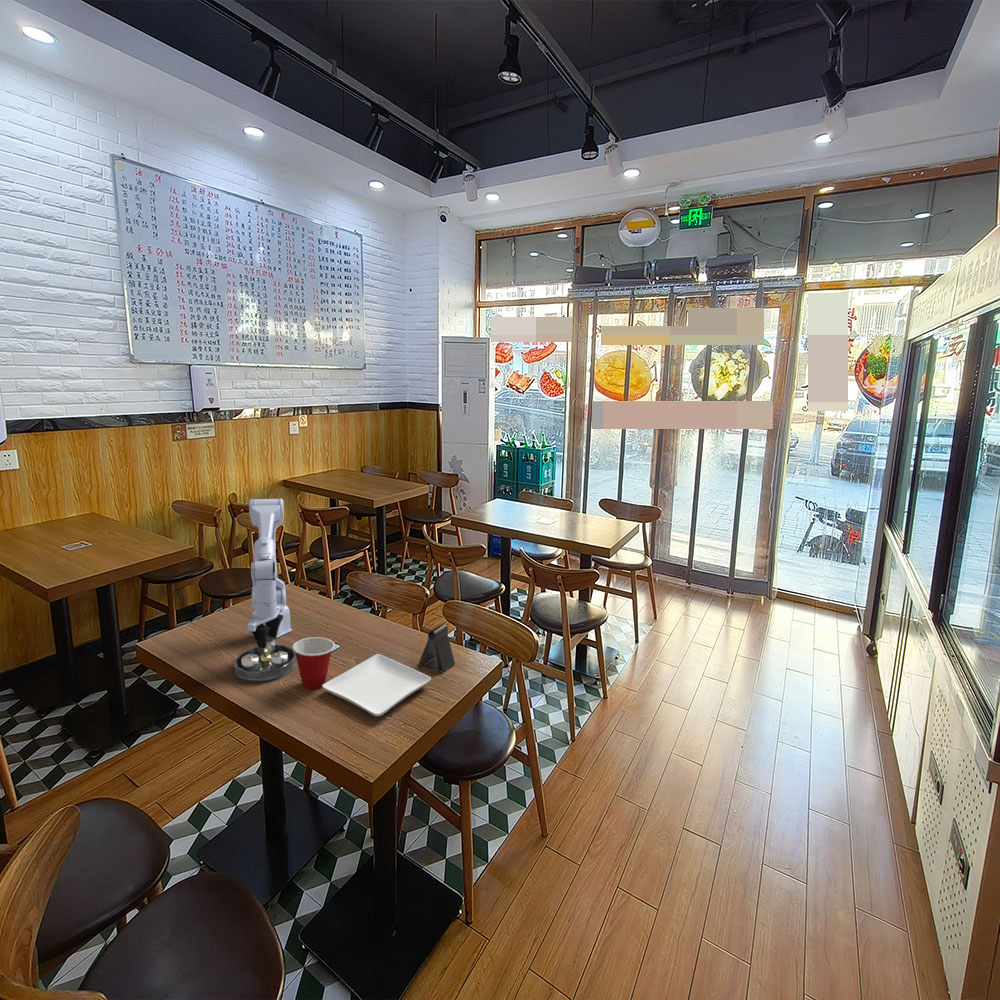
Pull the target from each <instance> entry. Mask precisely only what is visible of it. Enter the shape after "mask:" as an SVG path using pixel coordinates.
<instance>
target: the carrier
mask: <svg viewBox="0 0 1000 1000" xmlns="http://www.w3.org/2000/svg"><path fill="white" fill-rule="evenodd" d="M233 666H234V671H235V673H234V674H235V676H236V677H237V678H238V679H240V680H242V681H244V682H250V683H265V682H270V681H275V680H277V679H281V678H283V677H285V676H286V675H289V674H290V673H291V672H292V671H293V670H294V669H295V667H296V666H297V659H296V655H295V651H294V650H293V647H290V646H288V645H285V644H280V643H279V644H278V643H277V644H276V643H275V650H274V651H273V652H272V653H264V654H261V653H259V652H258V645H256V646H253V647H251V648H249V649H247V650H245V651H243V652H240V654H238V655H237V657H236V658H235V659H234V660H233Z"/></svg>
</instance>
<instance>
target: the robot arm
mask: <svg viewBox="0 0 1000 1000" xmlns="http://www.w3.org/2000/svg"><path fill="white" fill-rule="evenodd" d="M248 504H249V505H248V506H249V507H248V511H249V517H250V521H251V524H252V526H254V527H257V528H258V539H257V540H255V542H254V545H253V547H254V548H253V549H254V550H253V562H251V564H250V565H251V566H250V569H251V570H250V574H251V575H250V576H251V579H252V580H251V581H252V589H251V590H252V591H251V608H252V609H253V610H254V611H253V612H252V614H251V616H252V618H251V620H250V622H249V623H247V625H246V626H247V631H248V632H250V633H251V636H253V637H254V639H255V642H256V644H257V645H256V646H258V647H259V648H265V647H266V645H267V636H272V637H274V638H275V641H276V639H278V638H279V637H282V636H284V635H286V634H288V633H290V632H293V629H292V628H291V611H290V608H289V606H288V605H287V594H286V593H287V592H286V584H285V582H284V581H283V580H281V579H279V578H278V562H277V558H276V554H277V553H276V549H277V548H276V547H277V546H276V545H277V543H276V532H277V529H278V527H279V526H282V525H283V524H284V523H283V522H284V521H285V520H284V519H285V518H284V516H285V509H284V508H285V506H284V504H285V503H284V499H282V498H281V497H280V498H263V499H262V498H258V499H257V498H256V499H254V498H251V499H250V500H249V502H248Z"/></svg>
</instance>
